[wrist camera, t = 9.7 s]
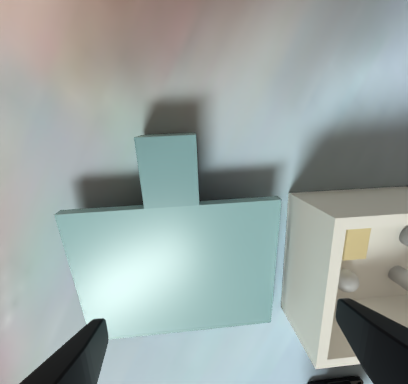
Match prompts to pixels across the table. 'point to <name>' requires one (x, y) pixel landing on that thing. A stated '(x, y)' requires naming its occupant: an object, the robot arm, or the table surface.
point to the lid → (173, 251)
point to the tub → (343, 264)
